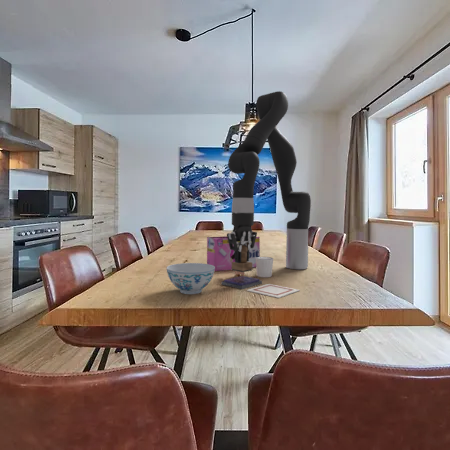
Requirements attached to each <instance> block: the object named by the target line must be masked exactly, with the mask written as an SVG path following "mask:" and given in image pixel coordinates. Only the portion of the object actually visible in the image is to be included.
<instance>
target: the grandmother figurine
mask: <svg viewBox="0 0 450 450" xmlns="http://www.w3.org/2000/svg"><path fill="white" fill-rule="evenodd" d="M238 246H239V245H237V247H238ZM233 259H235V254H233V255H232V256H231V259H230V262H232V260H233ZM247 262H248V261H247ZM240 276H246V277H247V275H246V274H245V272H239V271H234V278H235V277H240Z"/></svg>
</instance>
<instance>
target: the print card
mask: <svg viewBox="0 0 450 450" xmlns="http://www.w3.org/2000/svg"><path fill="white" fill-rule="evenodd" d="M246 291H247V292H250V293H254V294H258V295H264V296H269V297H271V298H277V299H280V298H283V297H286V296H289V295H292V294H294V293H295V294H296V293H299V292H300V291H301V290H300V289H297V288H293V287H292V288H291V287H286V286H281V285H276V284H271V283H268V284H267V283H266V284H263V285H258V286H257V287H252V288H249V289H248V288H247V290H246Z"/></svg>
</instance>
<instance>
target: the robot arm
mask: <svg viewBox="0 0 450 450" xmlns="http://www.w3.org/2000/svg"><path fill="white" fill-rule="evenodd" d="M256 110H257V114H258V118H259V121H258V122H257V123H255V124H254V125H253V126H252V127H251V128H250V130H249V131H248V133H247V135H246V136H245V138H244V140H243V142H242V143H241V144H239V145H238V146H237V147H236V149H234V151H232V153H231V154H230V156H229V158H228V163H227V164H228V168H229V170H230V172H231V173H233V174H237V175H239V174H243V177H242V178H240V179H239V180H236V181H234V182H233V184H232V186H233V187H232V203H231V225H232V226H233V227H232V231H231V232H228V233H226V236H227V238H228V242H229V246H230V249H231V250H234V251H235V262H237V263H241V249H242V245H245V246H246V247H247V249H248V251H247V261H249V251H250V249H251V248H254V244H255V240H256V237H258V236H257V235H258V232H257V231H254V230H253V229H252V226H254V225H255V224H254V221H255V219H254V218H255V202H254V189H255V188H254V187H255V182H256V180H257V177H258V176H257V175H258V172H259V169H260V165H261V164H260V158H259V155H260V153H261V152H262V151H263V149H264V146H265V144H266V143H267V142H268V146H269V149H270V153H271V154H270V155H271V158H272V159H271V160H272V162H273V165H274V168H275V172H276V176H277V179H278V185H279V188H280V195H281V199H282V200H281V201H282V204H283V207H284V210H285V211H286V212H287V213H291V214H294V213H295V214H297V215H296V217H295V218H294V219H292V220H288V221H287V223H286V247H285V249H286V251H285V254H286V255H285V267H286V269H289V270H290V269H291V270H306V269H308V267H309V245H308V244H309V225H310V219H311V206H312V205H311V203H312V199H311V196H310V193H309V192H307V191H294V190H293V185H292V179H293V176H294V173H295V170H296V169H297V168H296V167H297V156H296V153H295V149H294V146H293V144H292V143H291V142H290V141H289V140H288V138H287V137H286V136H285V135H284V134H283V133H281V130H279V129H278V127H277V126H278V124H279V123H280V121H282V119H283V118H284V117H285V116H286V114H287V112H288V110H289V100H288V96H287V94H286V93H284V91H280V90H279V91H273V92H269V93H266V94H262V95H260V96H258V97H257V99H256ZM237 241H240V242H237ZM251 242H252V243H251ZM250 243H251V245H250ZM246 244H247V245H246ZM233 245H234V246H233ZM237 245H239V246H238V247H237Z"/></svg>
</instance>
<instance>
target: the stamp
mask: <svg viewBox="0 0 450 450" xmlns="http://www.w3.org/2000/svg"><path fill="white" fill-rule="evenodd" d="M247 251H248V249H247V247H246V246H245V245H242V249H241V263H237V262H232V269H231V271H234V272H235V271H239V272H244V273H247V272H251V271H253V267H252V262H247Z"/></svg>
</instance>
